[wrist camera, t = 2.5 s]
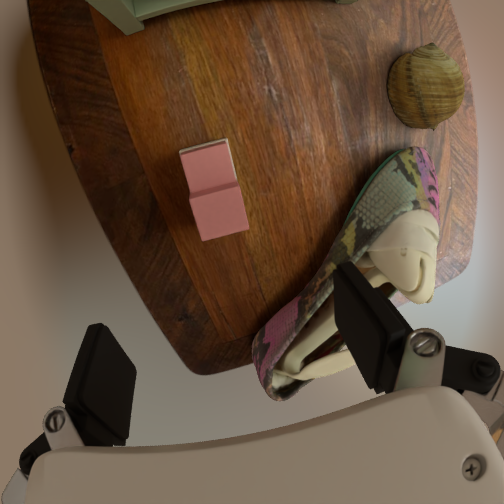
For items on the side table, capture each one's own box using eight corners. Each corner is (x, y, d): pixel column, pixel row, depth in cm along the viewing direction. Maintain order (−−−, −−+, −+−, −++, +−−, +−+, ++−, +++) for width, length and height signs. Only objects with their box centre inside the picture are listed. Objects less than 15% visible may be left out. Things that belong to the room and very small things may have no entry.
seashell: (401, 116, 27) (464, 125, 22) (389, 140, 24) (466, 152, 19) (388, 38, 21) (458, 42, 16) (373, 44, 18) (461, 49, 13)
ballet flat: (442, 184, 28) (509, 221, 18) (290, 363, 37) (313, 429, 28) (394, 123, 24) (476, 145, 14) (225, 341, 33) (236, 419, 24)
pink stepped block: (244, 212, 26) (251, 231, 22) (201, 223, 26) (201, 244, 22) (226, 137, 22) (231, 142, 19) (179, 149, 22) (174, 158, 19)
